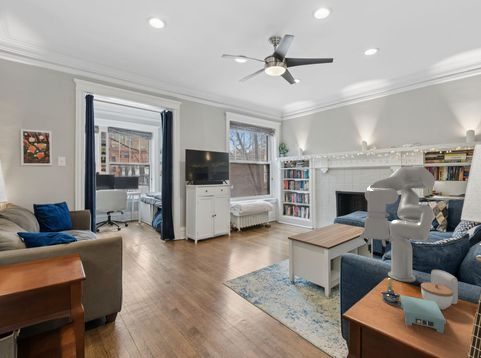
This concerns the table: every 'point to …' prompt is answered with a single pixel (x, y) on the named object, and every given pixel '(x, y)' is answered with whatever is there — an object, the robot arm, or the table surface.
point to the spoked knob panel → (421, 312)
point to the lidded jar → (437, 294)
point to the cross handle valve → (390, 293)
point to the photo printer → (446, 282)
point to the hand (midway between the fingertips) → (376, 252)
